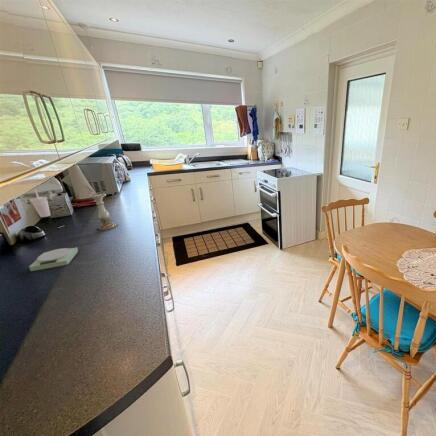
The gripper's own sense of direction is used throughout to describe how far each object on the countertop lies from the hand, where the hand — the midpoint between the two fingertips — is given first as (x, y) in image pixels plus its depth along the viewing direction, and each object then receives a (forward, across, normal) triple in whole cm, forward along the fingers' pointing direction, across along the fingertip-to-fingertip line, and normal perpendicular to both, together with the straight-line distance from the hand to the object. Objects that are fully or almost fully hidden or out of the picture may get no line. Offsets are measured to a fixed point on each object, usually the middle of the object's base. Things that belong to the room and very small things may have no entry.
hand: (39, 201), depth 115 cm
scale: (+35, -3, -5) cm, 36 cm away
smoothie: (+5, 0, +6) cm, 8 cm away
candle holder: (+16, +23, +14) cm, 31 cm away
